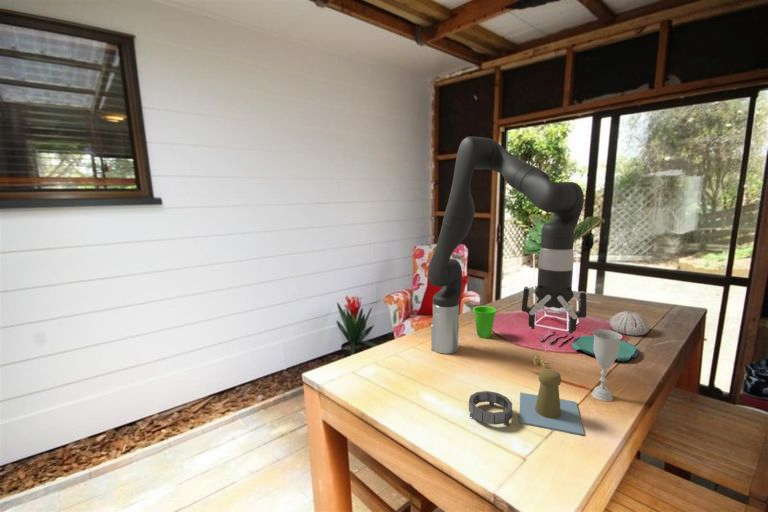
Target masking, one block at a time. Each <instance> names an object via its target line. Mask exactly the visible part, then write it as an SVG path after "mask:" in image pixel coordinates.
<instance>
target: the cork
mask: <svg viewBox="0 0 768 512" xmlns="http://www.w3.org/2000/svg"><path fill="white" fill-rule="evenodd" d="M538 381H539V382H540V384H539V388H538V394H537V395H538V397H537V402H536V407H535V410H536V412H537V413H538V414H539V415H541V416H543V417H546V418H552V419H555V418H558V417H560V416H561V409H560V399H561V398H560V389H559V388H560V387H559V386H560V385H561V383H562V377H561V374H560V373H559V372H558V371H557V370H555V369H553V368H552V369H551V368H543V369H541V370H540V371H539V372H538Z"/></svg>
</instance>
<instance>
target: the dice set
mask: <svg viewBox="0 0 768 512" xmlns="http://www.w3.org/2000/svg"><path fill="white" fill-rule="evenodd" d="M538 363H540V364H538ZM548 364H549V361H548V360H544V359H541V360H540V356H539V355H534V359H533V360H532V365H535V366H536V365H540V366H541V368H543V369H548Z"/></svg>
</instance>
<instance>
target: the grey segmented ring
mask: <svg viewBox="0 0 768 512" xmlns="http://www.w3.org/2000/svg"><path fill="white" fill-rule="evenodd" d="M480 403H488V404H489V405H488V406H489V407H495V404H497V405H498V406H500V407H502V408H503V409H504V410H502V411H496V412H492V411H487V410H483V409H481V408H480V407H477V405H478V404H480ZM468 411H469V418H470V417H472V418H471V419H473V418H475V419H476V420H477V421H480V422H481V423H485V424H488V425H504V426H508V427H509V426H510V420H512V418H513V417H512V416H513V403H512V401H511V399H509V398H508V397H507V396H505V395H503V394H501V393H499V392H494V391H490V390H489V391H487V390H483V391H476V392H474V393H472V394H471V395H470V396H469V400H468Z"/></svg>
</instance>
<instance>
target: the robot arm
mask: <svg viewBox="0 0 768 512" xmlns="http://www.w3.org/2000/svg"><path fill="white" fill-rule="evenodd" d="M454 165H455V166H454V172H453V178H452V184H451V189H450V193H449V196H448V201H447V205H446V208H445V212H444V216H443V218H442V223H441V224H442V225H441V227H440V233H439V236H438V240H437V243H436V246H435V249H434V251H433V254H432V257H431V259H430V262H429V265H428V268H427V269H428V271H427V278H428V279H427V280H428V282H429V283H430V285H431V286H433V287H436V288H437V287H442V288H441V289H440V290H439V291H437V292H436V293H435V294H434V295H433V296H432V324H431V327H430V328H431V333H430V334H431V340H430V341H431V343H430V344H431V345H430V346H431V347H430V348H431V349H430V350H432V351H435V352H436V353H440V354H445V355H446V354H448V355H449V354H454V353H456V352H458V350H459V330H460V329H459V328H460V327H459V319H460V318H459V312H460V310H459V309H460V307H459V303H460V299H461V294H462V284H463V283H462V282H463V271H462V266H461V264H460V262H459V261H458V260H457V259H455V258H451V257H452V255H453V253H454V251H455V250H456V249H457V248H458V246H459V245H460V244H461V243H462V242H463V241H464V239H465V238H466V237H467V236H468V234H469V232H470V231H471V230H470V229H471V227H472V223H473V221H474V217H475V212H476V211H475V209H476V208H475V207H476V206H475V204H474V200H473V196H472V193H471V182H472V177H473V173H474V170H490V171H492V172H493V171H494V172H495V173H499V174H500V175H502V177H503V179H504V181H505V182H506V183H507V184H508V186H509V187H511V188H512V189H514V190H516V191H518V192H519V193H520V194H523V195H525V196H526V197H527V199H528V200H529V201H530V202H532V204H533V205H534V206H535V207H536V208H537V209H539V210H540V211H543V212H546V213H549V214H550V213H551V214H553V213H554V214H553V216H552V219H551V221H550V222H547V223H545V224H544V225H543V226H542V229H541V235H540V251H539V254H538V255H539V256H538V262H537V263H538V267H537V268H538V269H537V271H538V272H537V286H536V287H535V288H532V287H531V288H529V286H524V287H523V292H522V301H521V302H522V303H521V312H522V313H523V312H524V313H527V314H528V327H530V329H531V330H535V326H536V325H535V323H536V313H537V312H538V311H539V310H541V309H542V307H545V308H548V309H549V308H555V309H561V308H564V310H565V311H566V312H567V313H568V315H570V316H568V317H569V318H568V320H569V321H568V333H569V334H571V335H574V334H573V333H574V332H576V331H577V324H578V323H577V322H578V321H577V320H578V319H580V318H583V319H585V318H586V317H587V294H586V292H585V290H580V291H573V290H572V287H573V286H572V285H573V273H574V272H573V271H574V262H575V261H574V259H575V257H574V246H575V245H574V242H575V230H576V228H577V225H578V222H579V219H580V217H581V213H582V211H583V208H584V201H585V195H584V191H583V188H582V187H581V186H580V185H579V184H578V183H577V182H574V181H553V180H551V179H550V176H549V175H548V173H547V172H546V171H544V170H542V169H540V168H538V167H536V166H534V165H532V164H530V163H528V162H526V161H524V160H521V159H520V158H518V157H516V156H515V155H513V154H512V153H510V152H509V150H507V149H505V148H504V147H503V146H502V145H501V144H499V143H498V142H497V141H495V140H494V139H492V138H489V137H481V136H471V135H470V136H466V137H465V138H463V139H462V141H461V142H460V144H459V146H458V150H457V152H456V159H455V164H454ZM533 295H535V296H536V297H537V300H536V301H535V302H534V303H533V305H531V307H530V306H528V305H529V304H528V303H529V298H531V297H532V296H533ZM573 297H575V299H576V301H577V302H578V304H579V306H578V308H579V309H578V310H577V311H576V310H575V309H574V308H573V307H572V305H571V304H570V302H571V300H572V299H573Z"/></svg>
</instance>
